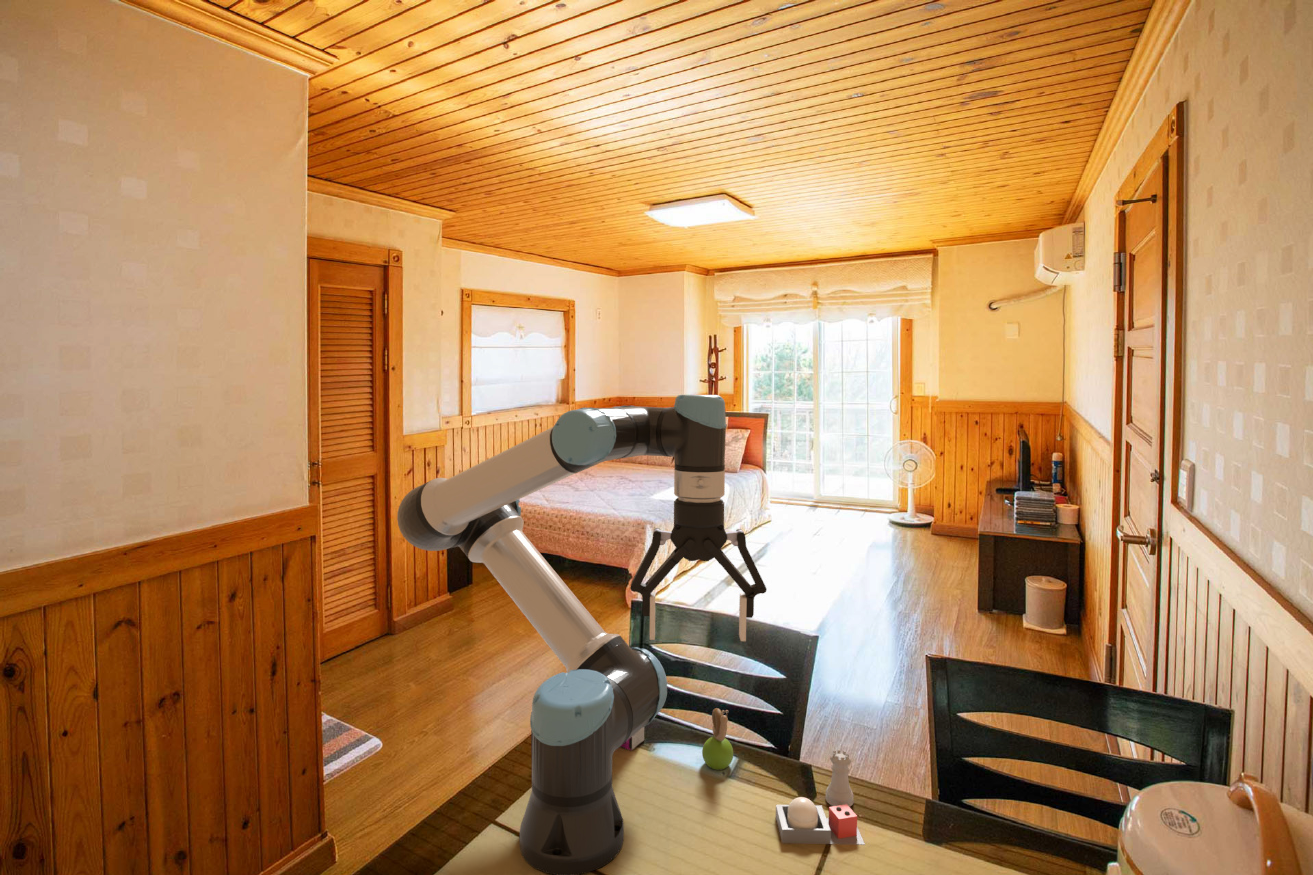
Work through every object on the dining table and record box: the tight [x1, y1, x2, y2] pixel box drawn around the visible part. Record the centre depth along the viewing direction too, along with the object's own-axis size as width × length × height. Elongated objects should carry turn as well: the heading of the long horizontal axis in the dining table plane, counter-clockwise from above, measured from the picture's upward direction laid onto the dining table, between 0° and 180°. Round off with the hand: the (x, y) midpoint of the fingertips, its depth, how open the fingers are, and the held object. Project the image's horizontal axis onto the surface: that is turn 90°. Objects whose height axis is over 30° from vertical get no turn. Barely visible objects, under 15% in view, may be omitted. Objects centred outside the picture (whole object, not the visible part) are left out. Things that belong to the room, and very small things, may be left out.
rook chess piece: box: [824, 749, 855, 808], centre depth 110 cm, size 4×4×8 cm
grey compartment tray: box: [775, 804, 866, 846], centre depth 103 cm, size 12×6×4 cm, turn 89°
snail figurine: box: [701, 707, 734, 771], centre depth 120 cm, size 5×6×12 cm
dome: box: [787, 796, 818, 829], centre depth 103 cm, size 4×4×4 cm
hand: (697, 637), depth 104 cm, fingers open, 13 cm apart
